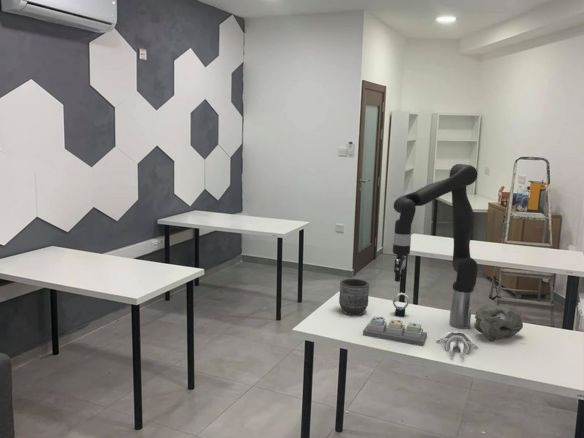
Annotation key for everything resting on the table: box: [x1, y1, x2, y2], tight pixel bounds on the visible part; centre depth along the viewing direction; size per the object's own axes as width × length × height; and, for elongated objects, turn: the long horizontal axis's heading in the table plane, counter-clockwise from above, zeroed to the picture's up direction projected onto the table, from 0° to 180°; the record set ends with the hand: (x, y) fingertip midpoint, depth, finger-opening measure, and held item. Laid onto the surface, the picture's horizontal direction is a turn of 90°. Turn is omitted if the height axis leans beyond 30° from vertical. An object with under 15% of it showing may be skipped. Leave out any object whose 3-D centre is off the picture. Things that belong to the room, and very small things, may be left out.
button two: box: [388, 318, 403, 330], centre depth 226 cm, size 5×5×4 cm
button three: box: [370, 315, 386, 326], centre depth 229 cm, size 5×5×4 cm
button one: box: [406, 322, 422, 333], centre depth 223 cm, size 5×5×4 cm
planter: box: [338, 277, 370, 316], centre depth 254 cm, size 14×14×15 cm
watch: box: [392, 292, 410, 318], centre depth 252 cm, size 6×8×11 cm
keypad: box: [362, 320, 428, 347], centre depth 226 cm, size 26×11×4 cm, turn 68°
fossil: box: [473, 304, 524, 342], centre depth 229 cm, size 14×22×15 cm, turn 123°
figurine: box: [436, 331, 479, 359], centre depth 216 cm, size 17×9×25 cm
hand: (399, 279), depth 229 cm, fingers open, 7 cm apart
